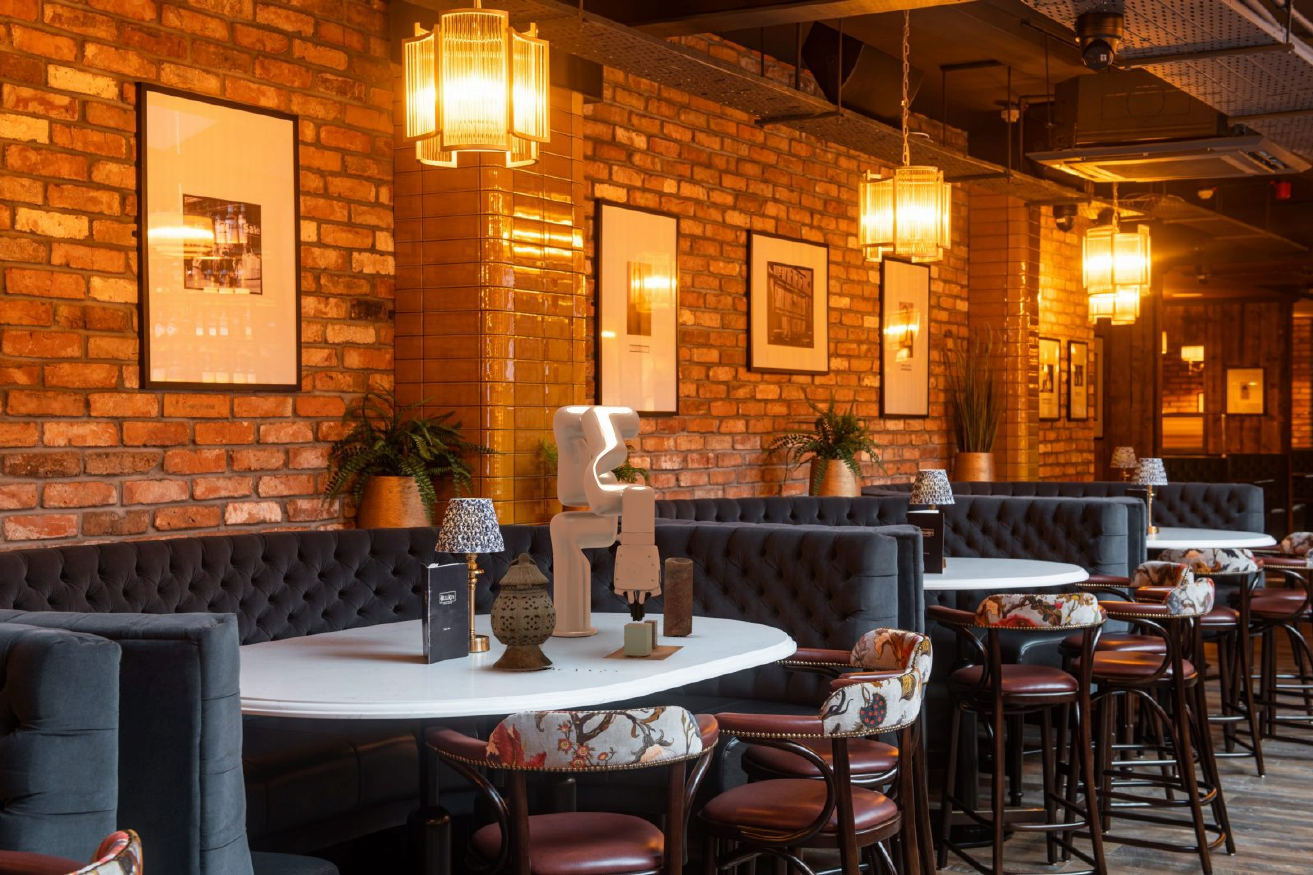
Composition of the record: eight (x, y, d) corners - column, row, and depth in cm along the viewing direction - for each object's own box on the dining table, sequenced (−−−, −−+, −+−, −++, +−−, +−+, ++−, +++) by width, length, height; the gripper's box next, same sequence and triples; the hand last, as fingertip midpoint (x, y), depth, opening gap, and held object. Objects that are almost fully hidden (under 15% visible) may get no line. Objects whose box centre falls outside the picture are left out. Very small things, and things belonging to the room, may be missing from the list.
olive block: (624, 654, 310) (624, 625, 311) (629, 651, 316) (629, 622, 316) (646, 655, 309) (646, 626, 309) (651, 652, 314) (651, 623, 314)
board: (602, 661, 309) (602, 657, 309) (627, 647, 331) (627, 644, 331) (663, 663, 306) (663, 660, 306) (684, 649, 327) (684, 646, 327)
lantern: (478, 669, 298) (478, 554, 299) (512, 660, 311) (511, 549, 312) (535, 673, 293) (535, 556, 293) (566, 664, 306) (566, 551, 306)
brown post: (644, 648, 323) (644, 621, 323) (646, 647, 326) (646, 619, 326) (654, 649, 323) (654, 621, 323) (657, 647, 325) (657, 620, 325)
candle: (694, 635, 351) (694, 557, 352) (692, 639, 344) (691, 559, 344) (664, 635, 352) (664, 557, 352) (661, 639, 345) (661, 559, 345)
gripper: (601, 540, 311) (601, 621, 311) (666, 542, 307) (665, 624, 307) (610, 538, 318) (610, 617, 318) (673, 539, 315) (673, 619, 315)
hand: (637, 620), depth 313 cm, fingers closed
